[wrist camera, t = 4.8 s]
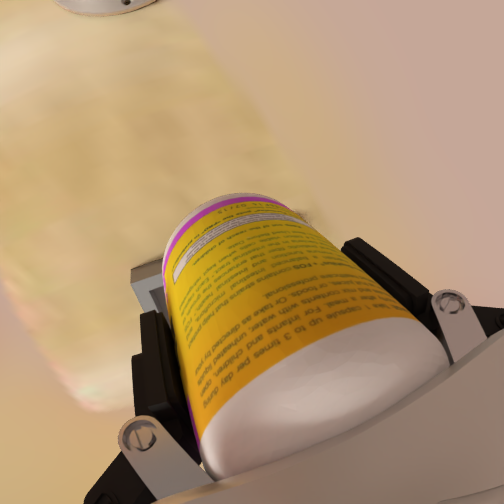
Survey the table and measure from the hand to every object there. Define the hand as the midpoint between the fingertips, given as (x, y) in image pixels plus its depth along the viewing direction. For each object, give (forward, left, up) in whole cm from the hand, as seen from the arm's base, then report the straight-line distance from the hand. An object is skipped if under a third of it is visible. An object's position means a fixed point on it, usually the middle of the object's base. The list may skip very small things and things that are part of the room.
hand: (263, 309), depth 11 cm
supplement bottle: (0, 0, -4) cm, 4 cm away
